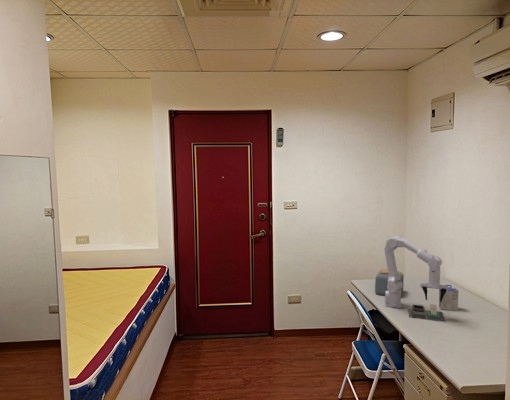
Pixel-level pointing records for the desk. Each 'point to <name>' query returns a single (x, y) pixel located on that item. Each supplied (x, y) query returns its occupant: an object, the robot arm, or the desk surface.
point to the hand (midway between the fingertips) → (433, 300)
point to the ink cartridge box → (449, 299)
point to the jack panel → (424, 313)
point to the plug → (433, 309)
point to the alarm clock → (384, 282)
